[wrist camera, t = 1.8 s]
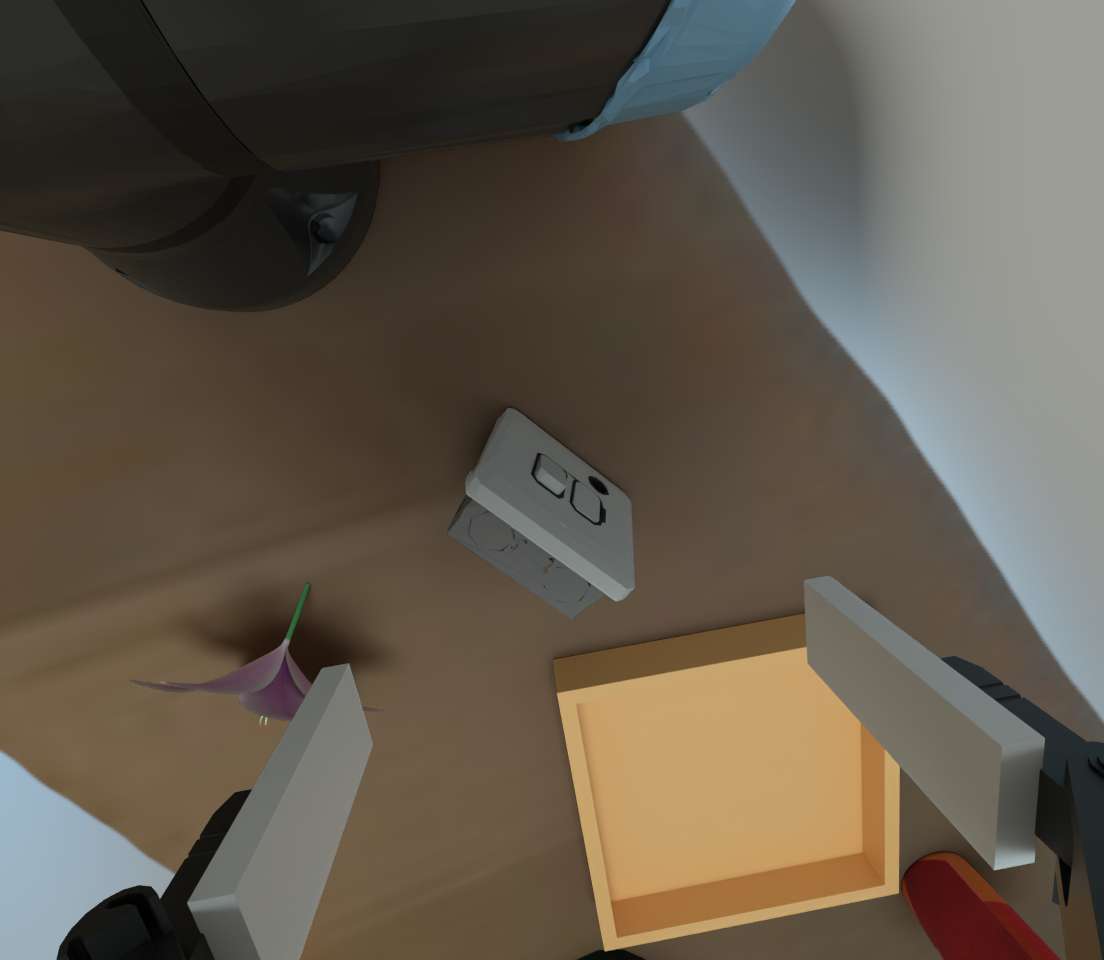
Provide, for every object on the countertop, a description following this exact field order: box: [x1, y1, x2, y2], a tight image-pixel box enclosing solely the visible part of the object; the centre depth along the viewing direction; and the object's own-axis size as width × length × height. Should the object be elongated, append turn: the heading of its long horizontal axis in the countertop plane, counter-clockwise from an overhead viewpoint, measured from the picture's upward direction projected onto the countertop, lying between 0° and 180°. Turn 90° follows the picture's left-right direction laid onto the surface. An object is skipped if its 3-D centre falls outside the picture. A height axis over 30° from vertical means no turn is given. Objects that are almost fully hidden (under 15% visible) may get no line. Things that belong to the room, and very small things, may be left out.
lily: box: [130, 583, 385, 728], centre depth 31 cm, size 12×12×10 cm
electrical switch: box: [447, 408, 635, 620], centre depth 29 cm, size 9×5×9 cm, turn 52°
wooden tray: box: [553, 613, 900, 951], centre depth 37 cm, size 21×21×4 cm
